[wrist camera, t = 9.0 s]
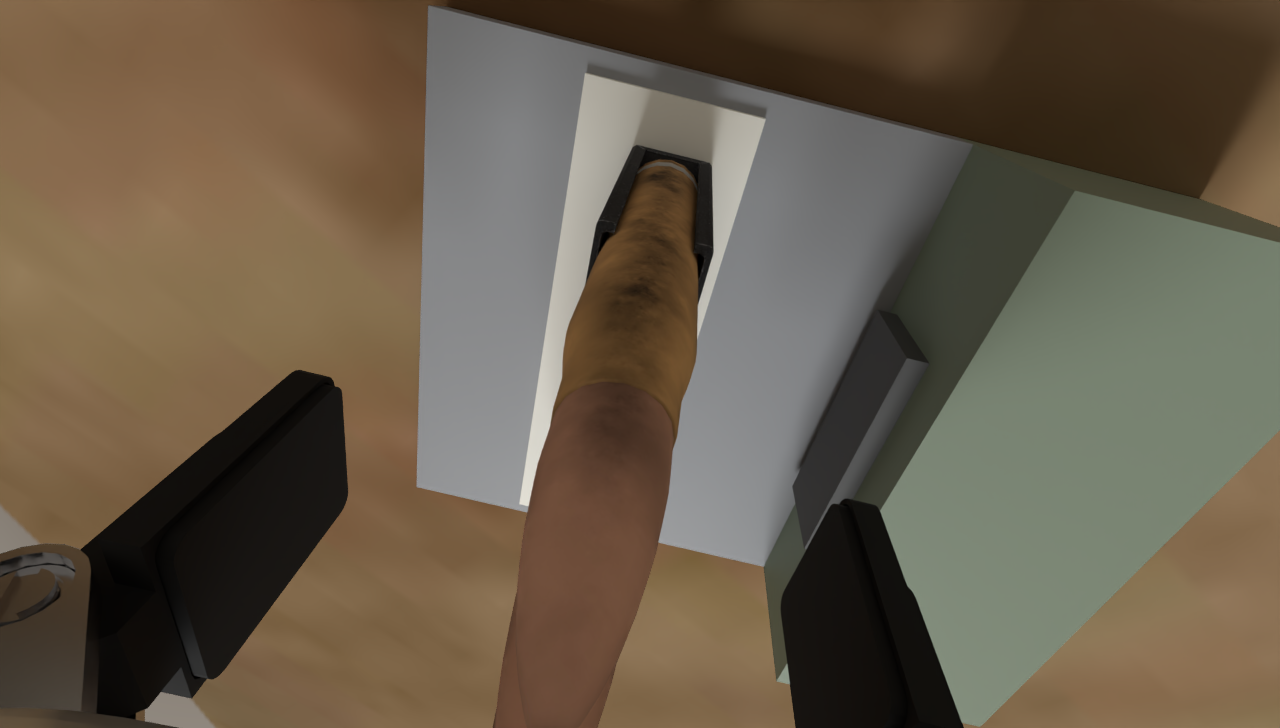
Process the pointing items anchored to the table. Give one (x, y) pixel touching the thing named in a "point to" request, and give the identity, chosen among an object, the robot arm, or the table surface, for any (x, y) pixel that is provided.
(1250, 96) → the table surface
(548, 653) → the ammunition clip
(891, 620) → the robot arm
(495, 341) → the plate with green block
